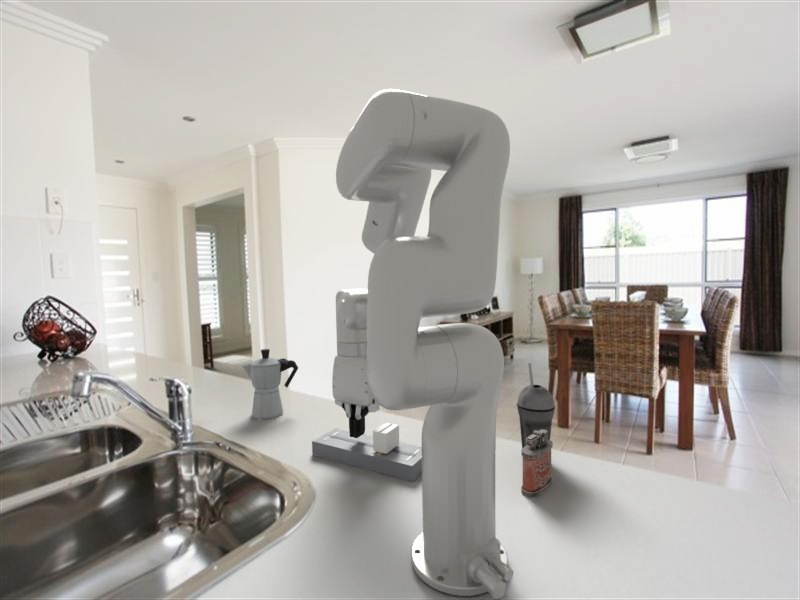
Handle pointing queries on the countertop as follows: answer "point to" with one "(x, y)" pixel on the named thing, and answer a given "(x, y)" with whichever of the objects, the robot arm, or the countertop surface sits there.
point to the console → (369, 454)
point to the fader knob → (386, 438)
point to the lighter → (536, 464)
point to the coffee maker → (268, 384)
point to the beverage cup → (535, 409)
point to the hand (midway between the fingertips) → (357, 435)
